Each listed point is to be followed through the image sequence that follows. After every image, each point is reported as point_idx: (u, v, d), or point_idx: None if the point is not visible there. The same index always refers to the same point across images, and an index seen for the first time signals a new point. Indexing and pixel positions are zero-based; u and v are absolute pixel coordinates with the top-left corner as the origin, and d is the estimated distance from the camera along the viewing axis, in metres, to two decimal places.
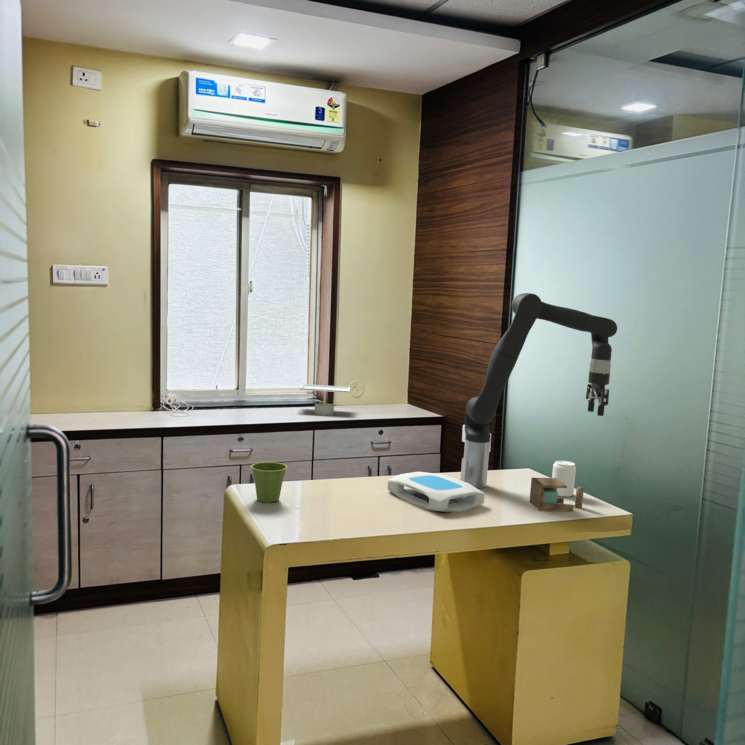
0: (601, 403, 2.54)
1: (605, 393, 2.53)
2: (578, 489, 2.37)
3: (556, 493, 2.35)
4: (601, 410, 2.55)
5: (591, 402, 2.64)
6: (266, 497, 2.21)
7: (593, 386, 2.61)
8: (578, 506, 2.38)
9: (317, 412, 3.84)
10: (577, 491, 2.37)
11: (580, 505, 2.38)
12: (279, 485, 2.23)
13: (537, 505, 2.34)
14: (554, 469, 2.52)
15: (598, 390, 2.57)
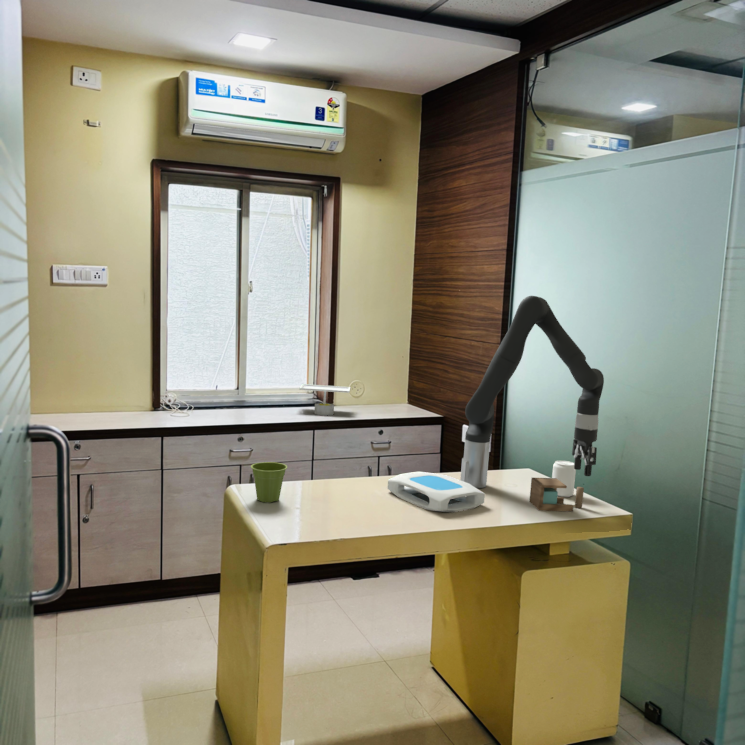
0: (588, 463, 2.30)
1: (592, 452, 2.30)
2: (578, 489, 2.37)
3: (556, 493, 2.35)
4: (588, 470, 2.32)
5: (578, 459, 2.41)
6: (266, 497, 2.21)
7: (579, 442, 2.38)
8: (578, 506, 2.38)
9: (317, 412, 3.84)
10: (577, 491, 2.37)
11: (580, 505, 2.38)
12: (279, 485, 2.23)
13: (537, 505, 2.34)
14: (554, 469, 2.52)
15: (585, 448, 2.33)
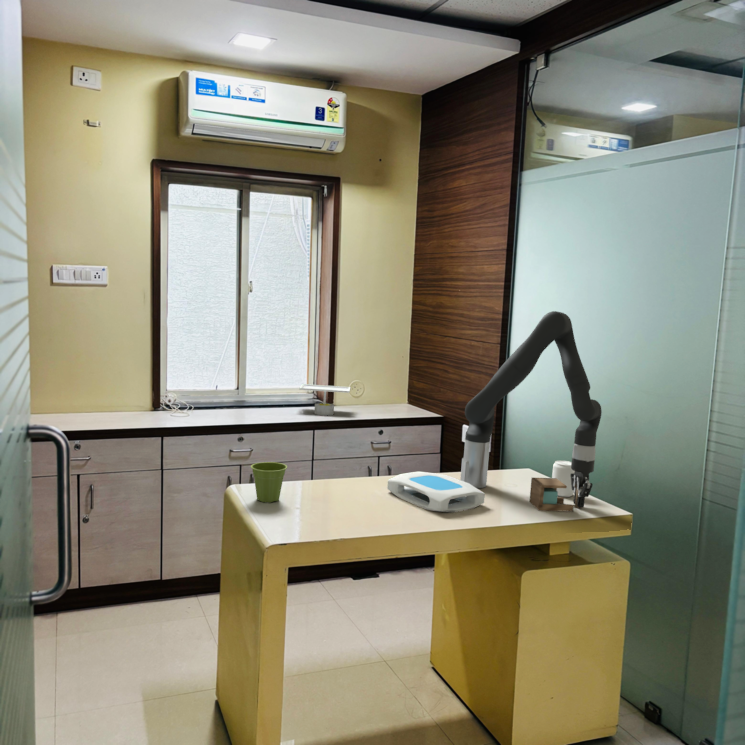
0: (581, 495, 2.34)
1: (587, 488, 2.32)
2: None
3: (556, 493, 2.35)
4: (581, 502, 2.36)
5: None
6: (266, 497, 2.21)
7: (576, 473, 2.39)
8: None
9: (317, 412, 3.84)
10: (577, 490, 2.37)
11: None
12: (279, 485, 2.23)
13: (537, 505, 2.34)
14: (554, 469, 2.52)
15: (581, 478, 2.35)
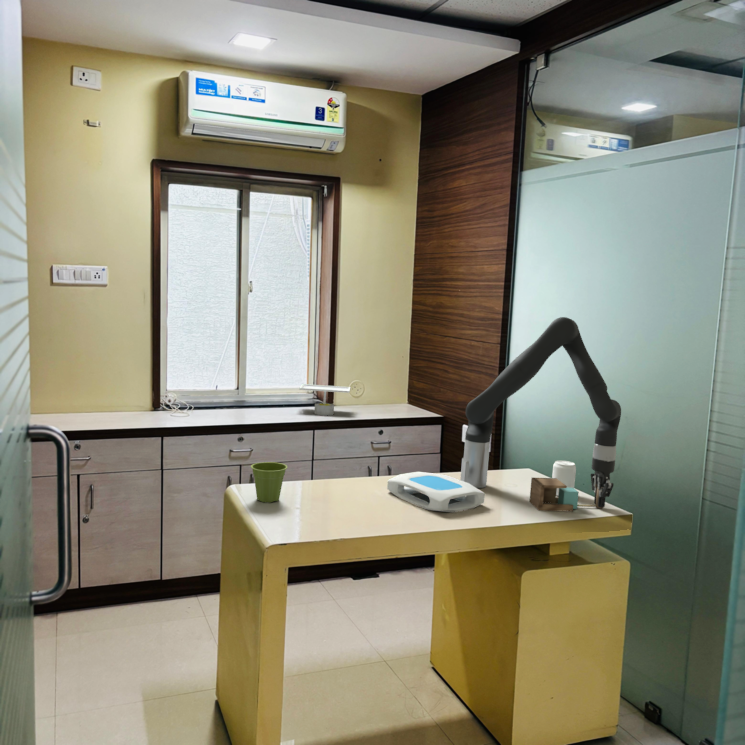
0: (602, 495, 2.35)
1: (608, 488, 2.33)
2: None
3: (577, 493, 2.35)
4: (602, 502, 2.37)
5: None
6: (266, 497, 2.21)
7: (597, 473, 2.40)
8: None
9: (317, 412, 3.84)
10: (598, 490, 2.38)
11: None
12: (279, 485, 2.23)
13: (537, 505, 2.34)
14: (554, 469, 2.52)
15: (602, 478, 2.35)
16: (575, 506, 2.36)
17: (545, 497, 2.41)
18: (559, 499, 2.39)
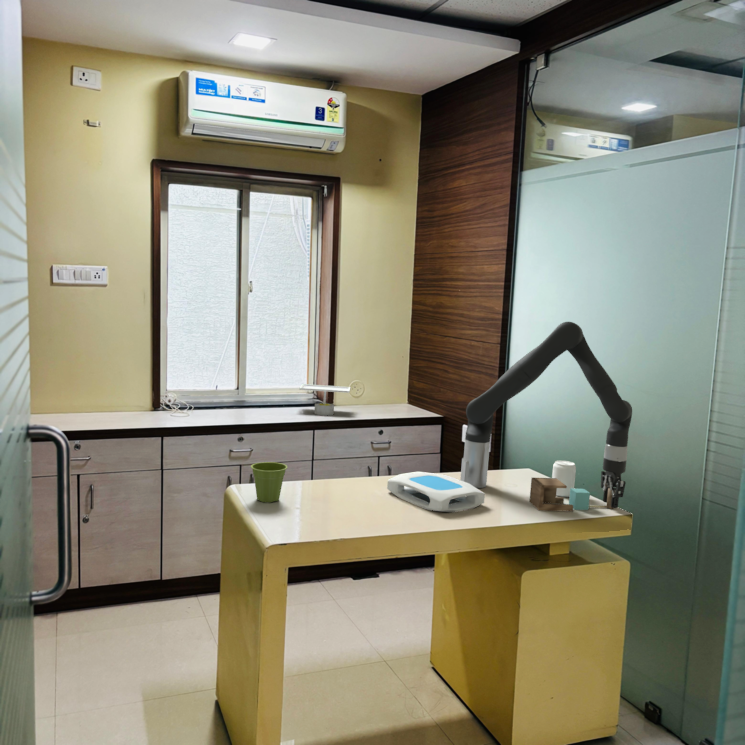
0: (615, 495, 2.34)
1: (621, 486, 2.33)
2: (610, 490, 2.39)
3: (588, 494, 2.36)
4: (615, 502, 2.36)
5: (607, 492, 2.42)
6: (266, 497, 2.21)
7: (608, 473, 2.40)
8: (610, 507, 2.39)
9: (317, 412, 3.84)
10: (609, 492, 2.39)
11: None
12: (279, 485, 2.23)
13: (537, 505, 2.34)
14: (554, 469, 2.52)
15: (613, 479, 2.36)
16: (586, 507, 2.37)
17: (545, 497, 2.41)
18: (570, 500, 2.40)
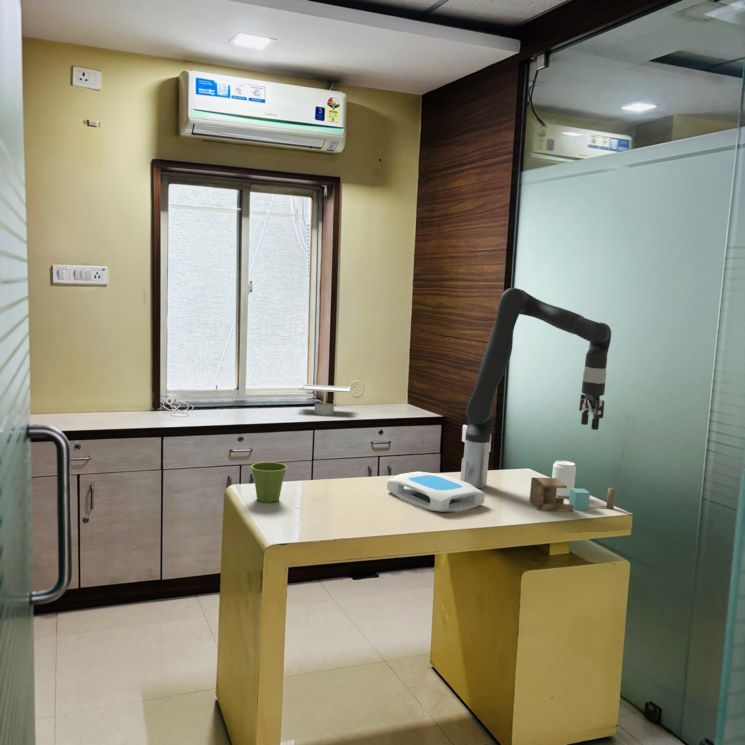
0: (595, 416, 2.30)
1: (600, 405, 2.30)
2: (610, 490, 2.39)
3: (588, 494, 2.36)
4: (595, 423, 2.32)
5: (585, 414, 2.41)
6: (266, 497, 2.21)
7: (587, 397, 2.38)
8: (610, 507, 2.39)
9: (317, 412, 3.84)
10: (609, 492, 2.39)
11: (612, 506, 2.39)
12: (279, 485, 2.23)
13: (537, 505, 2.34)
14: (554, 469, 2.52)
15: (592, 401, 2.34)
16: (586, 507, 2.37)
17: (545, 497, 2.41)
18: (570, 500, 2.40)
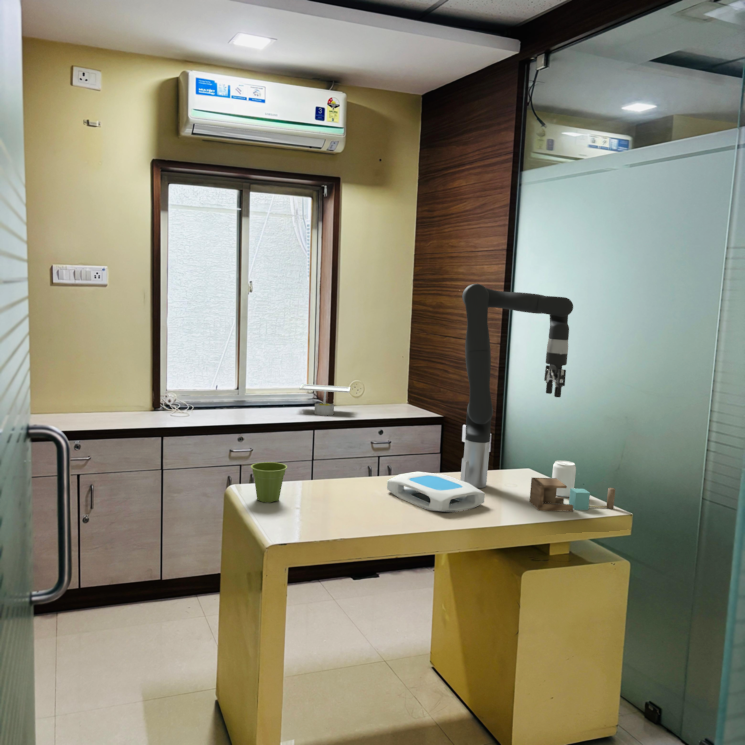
0: (558, 384, 2.46)
1: (562, 374, 2.46)
2: (610, 490, 2.39)
3: (588, 494, 2.36)
4: (558, 391, 2.48)
5: (549, 384, 2.57)
6: (266, 497, 2.21)
7: (551, 367, 2.54)
8: (610, 507, 2.39)
9: (317, 412, 3.84)
10: (609, 492, 2.39)
11: (612, 506, 2.39)
12: (279, 485, 2.23)
13: (537, 505, 2.34)
14: (554, 469, 2.52)
15: (555, 371, 2.50)
16: (586, 507, 2.37)
17: (545, 497, 2.41)
18: (570, 500, 2.40)
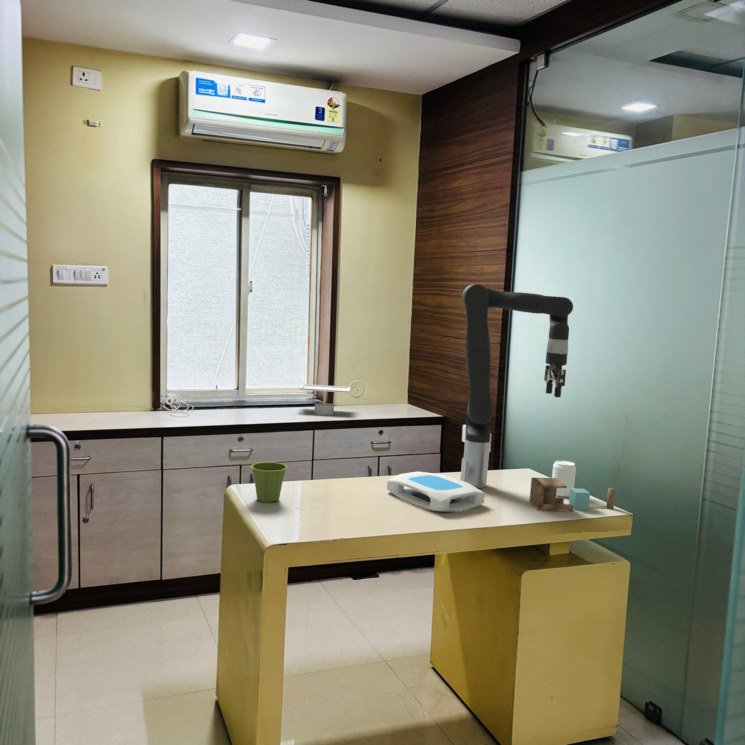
0: (558, 384, 2.46)
1: (562, 374, 2.46)
2: (610, 490, 2.39)
3: (588, 494, 2.36)
4: (558, 391, 2.48)
5: (549, 384, 2.57)
6: (266, 497, 2.21)
7: (551, 367, 2.54)
8: (610, 507, 2.39)
9: (317, 412, 3.84)
10: (609, 492, 2.39)
11: (612, 506, 2.39)
12: (279, 485, 2.23)
13: (537, 505, 2.34)
14: (554, 469, 2.52)
15: (555, 371, 2.50)
16: (586, 507, 2.37)
17: (545, 497, 2.41)
18: (570, 500, 2.40)
